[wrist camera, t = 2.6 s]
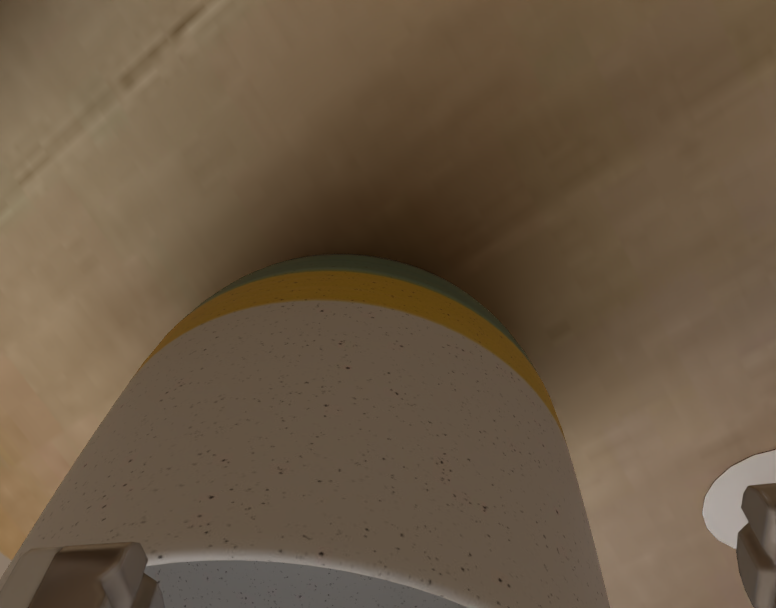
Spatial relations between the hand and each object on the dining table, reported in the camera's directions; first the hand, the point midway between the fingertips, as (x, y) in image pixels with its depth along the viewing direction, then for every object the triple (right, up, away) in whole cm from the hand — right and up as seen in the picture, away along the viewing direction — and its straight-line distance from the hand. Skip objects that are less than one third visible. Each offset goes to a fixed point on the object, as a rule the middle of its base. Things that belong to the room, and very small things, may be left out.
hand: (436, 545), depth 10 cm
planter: (-2, +1, +29) cm, 29 cm away
